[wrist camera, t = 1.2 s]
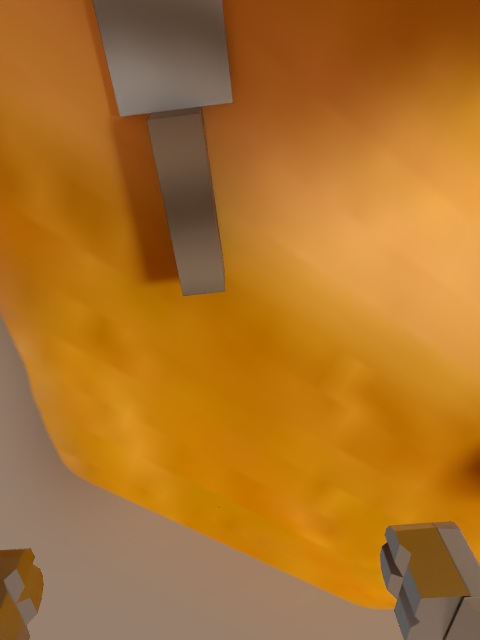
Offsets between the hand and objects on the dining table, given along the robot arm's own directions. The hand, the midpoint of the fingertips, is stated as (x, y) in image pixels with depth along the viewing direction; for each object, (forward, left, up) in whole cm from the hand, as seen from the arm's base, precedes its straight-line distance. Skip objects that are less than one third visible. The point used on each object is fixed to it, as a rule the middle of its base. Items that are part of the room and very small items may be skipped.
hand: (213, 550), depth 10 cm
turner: (-3, -4, -21) cm, 21 cm away
